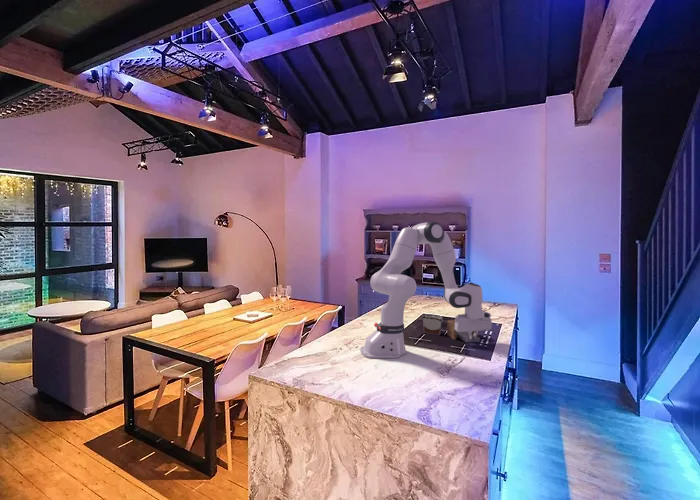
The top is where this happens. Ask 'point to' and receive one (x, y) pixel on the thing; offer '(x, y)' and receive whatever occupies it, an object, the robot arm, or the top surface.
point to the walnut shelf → (451, 331)
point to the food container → (432, 324)
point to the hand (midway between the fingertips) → (472, 338)
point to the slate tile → (467, 337)
